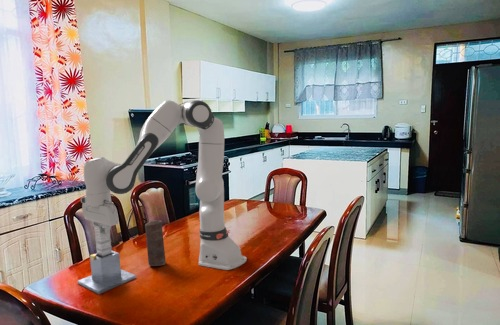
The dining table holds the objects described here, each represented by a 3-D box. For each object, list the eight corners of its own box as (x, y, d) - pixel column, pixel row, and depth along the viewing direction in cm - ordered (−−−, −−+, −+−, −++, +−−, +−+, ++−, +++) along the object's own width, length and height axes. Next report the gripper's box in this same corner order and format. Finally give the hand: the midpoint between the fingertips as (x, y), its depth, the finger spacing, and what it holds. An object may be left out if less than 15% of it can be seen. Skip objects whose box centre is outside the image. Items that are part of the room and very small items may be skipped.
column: (114, 276, 142) (109, 224, 139) (104, 280, 139) (99, 227, 136) (108, 273, 145) (103, 222, 142) (99, 277, 141) (93, 225, 139)
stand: (135, 277, 143) (133, 248, 142) (99, 294, 131) (95, 262, 129) (114, 269, 153) (111, 241, 152) (77, 283, 141) (74, 254, 139)
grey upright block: (156, 269, 150) (152, 224, 148) (144, 266, 154) (140, 222, 152) (169, 263, 157) (165, 219, 154) (157, 260, 161) (154, 218, 158)
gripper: (121, 200, 134) (124, 234, 136) (93, 194, 146) (96, 226, 148) (105, 203, 129) (109, 239, 131) (78, 198, 141) (81, 231, 143)
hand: (102, 232), depth 139 cm, fingers open, 6 cm apart
